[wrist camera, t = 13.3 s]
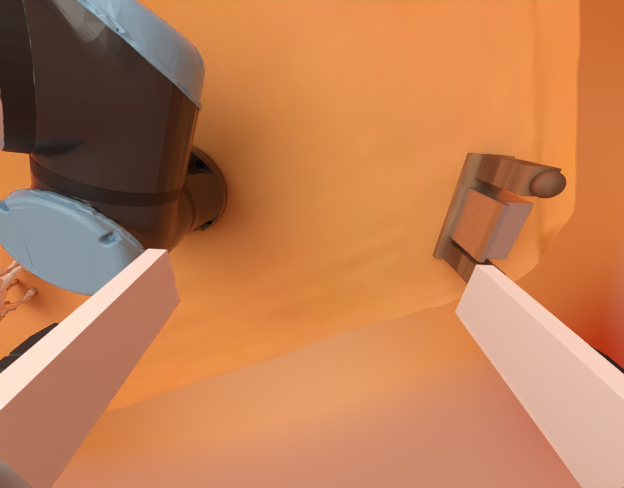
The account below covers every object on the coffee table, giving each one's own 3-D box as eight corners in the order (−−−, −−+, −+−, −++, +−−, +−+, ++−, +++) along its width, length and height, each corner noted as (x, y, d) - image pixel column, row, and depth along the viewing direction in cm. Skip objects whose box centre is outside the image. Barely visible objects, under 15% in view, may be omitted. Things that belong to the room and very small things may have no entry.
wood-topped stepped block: (448, 235, 45) (478, 262, 37) (466, 186, 41) (504, 204, 33) (475, 236, 45) (511, 263, 37) (495, 188, 41) (540, 207, 33)
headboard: (432, 255, 48) (473, 302, 36) (467, 153, 39) (536, 170, 27) (467, 257, 48) (519, 304, 36) (510, 155, 39) (597, 174, 27)
